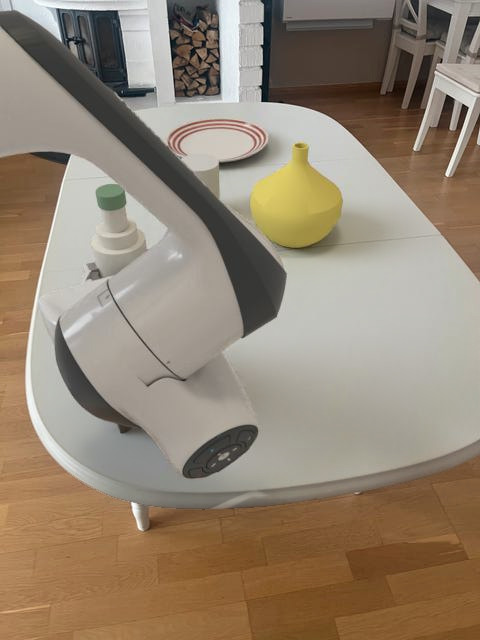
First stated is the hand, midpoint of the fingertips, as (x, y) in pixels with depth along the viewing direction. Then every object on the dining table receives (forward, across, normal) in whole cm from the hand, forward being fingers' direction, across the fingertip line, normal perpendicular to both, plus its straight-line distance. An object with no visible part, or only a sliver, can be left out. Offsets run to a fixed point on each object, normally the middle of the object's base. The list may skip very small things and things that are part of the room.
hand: (120, 260), depth 61 cm
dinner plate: (+73, -44, +23) cm, 88 cm away
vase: (+27, -41, +23) cm, 54 cm away
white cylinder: (+43, -27, +23) cm, 56 cm away
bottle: (-1, 0, +8) cm, 9 cm away
